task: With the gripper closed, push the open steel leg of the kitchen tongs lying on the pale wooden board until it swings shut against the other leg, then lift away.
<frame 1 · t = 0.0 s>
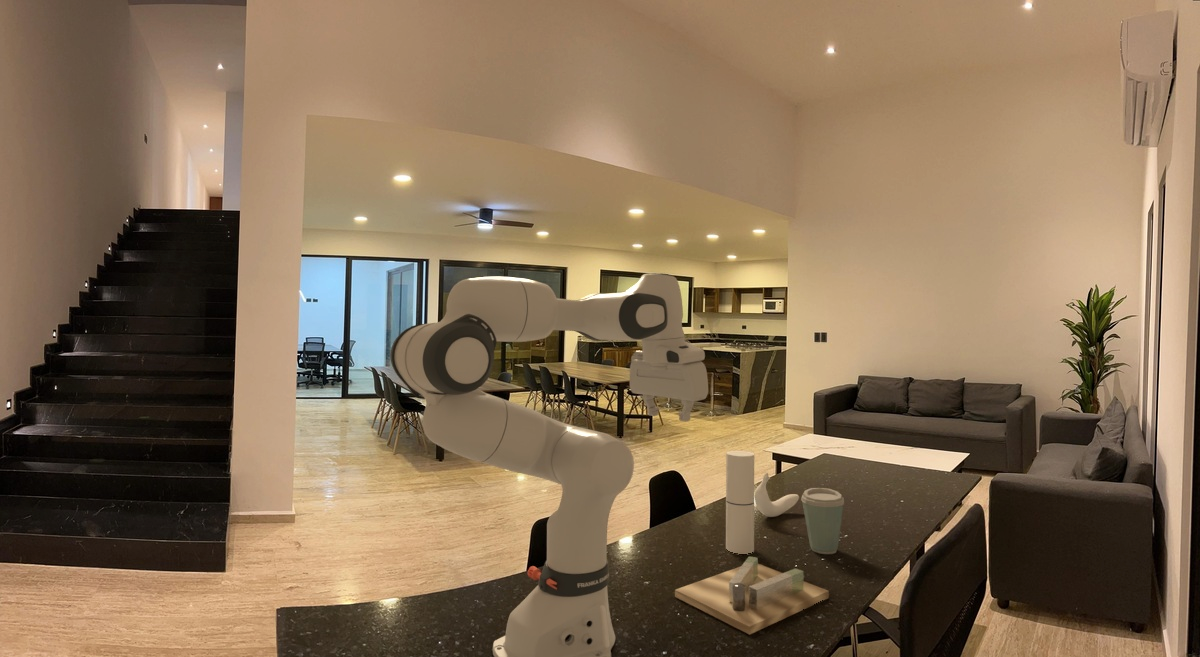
hand: (668, 418, 126), 39 cm above the table, tool pointing down, fingers open, 8 cm apart
cylindrical container: (739, 550, 158), on the table
banana: (775, 516, 186), on the table
cutting board: (751, 597, 130), on the table
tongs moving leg: (746, 580, 129), point 4 cm above the table, hinge at 25.0°
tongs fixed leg: (738, 608, 121), resting on cutting board
disposable coffee cup: (822, 550, 157), on the table
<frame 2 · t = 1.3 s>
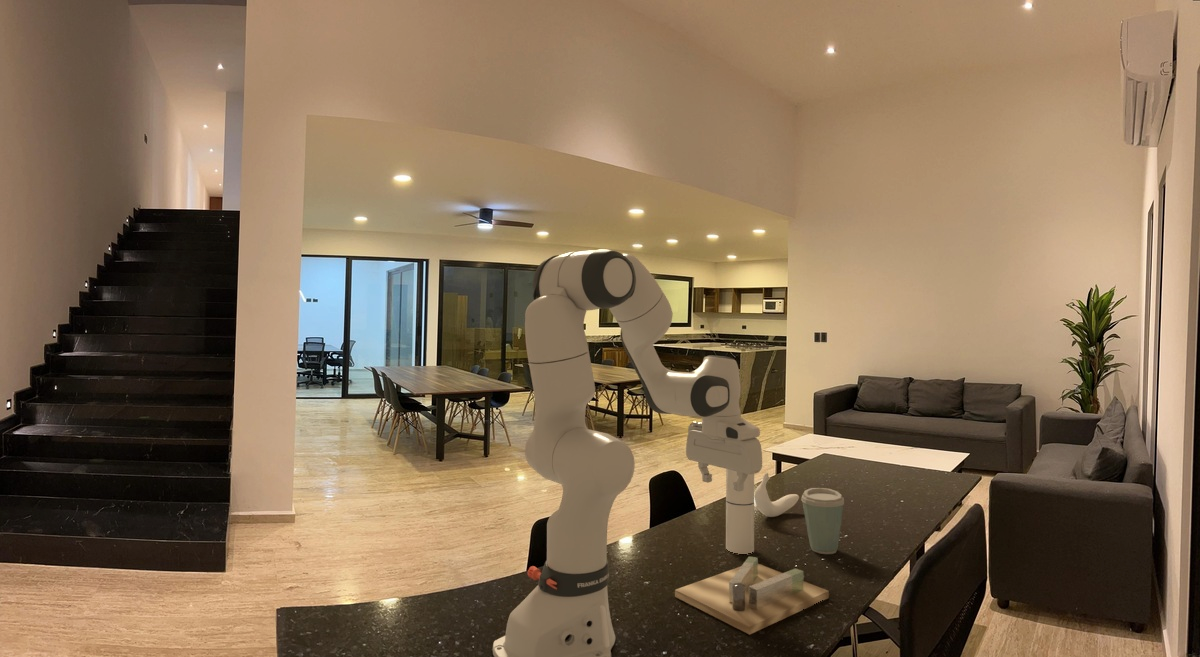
hand: (722, 486, 139), 21 cm above the table, tool pointing down, fingers open, 8 cm apart
nothing on the table moved.
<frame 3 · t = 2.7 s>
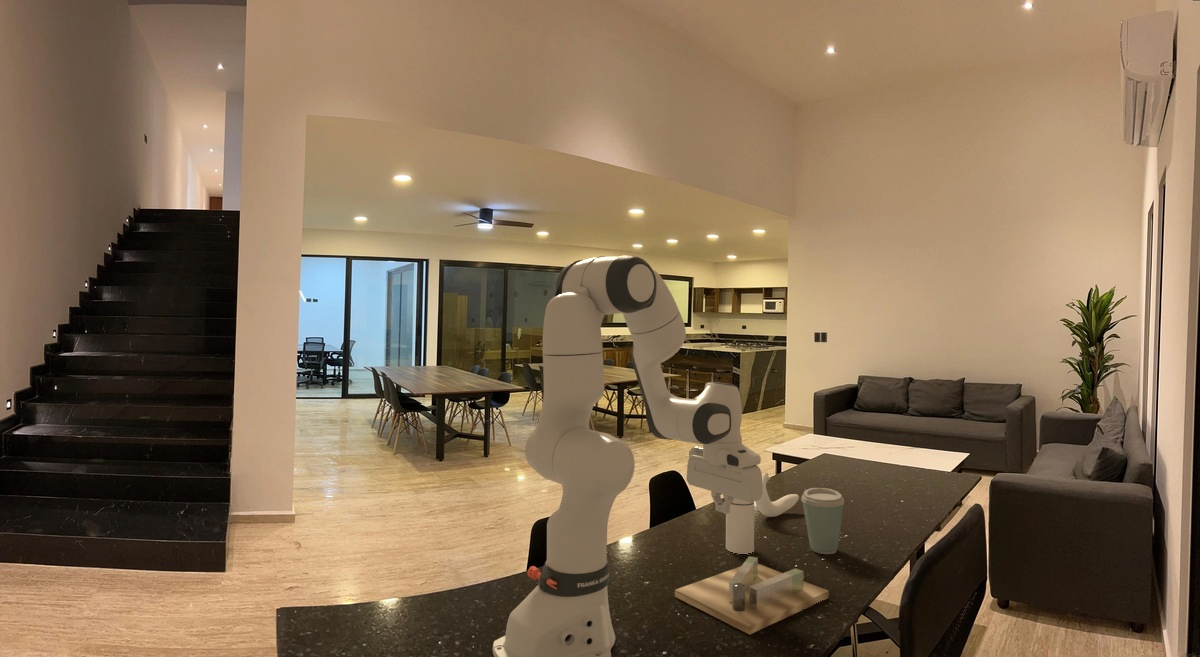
hand: (722, 512, 140), 15 cm above the table, tool pointing down, fingers closed
nothing on the table moved.
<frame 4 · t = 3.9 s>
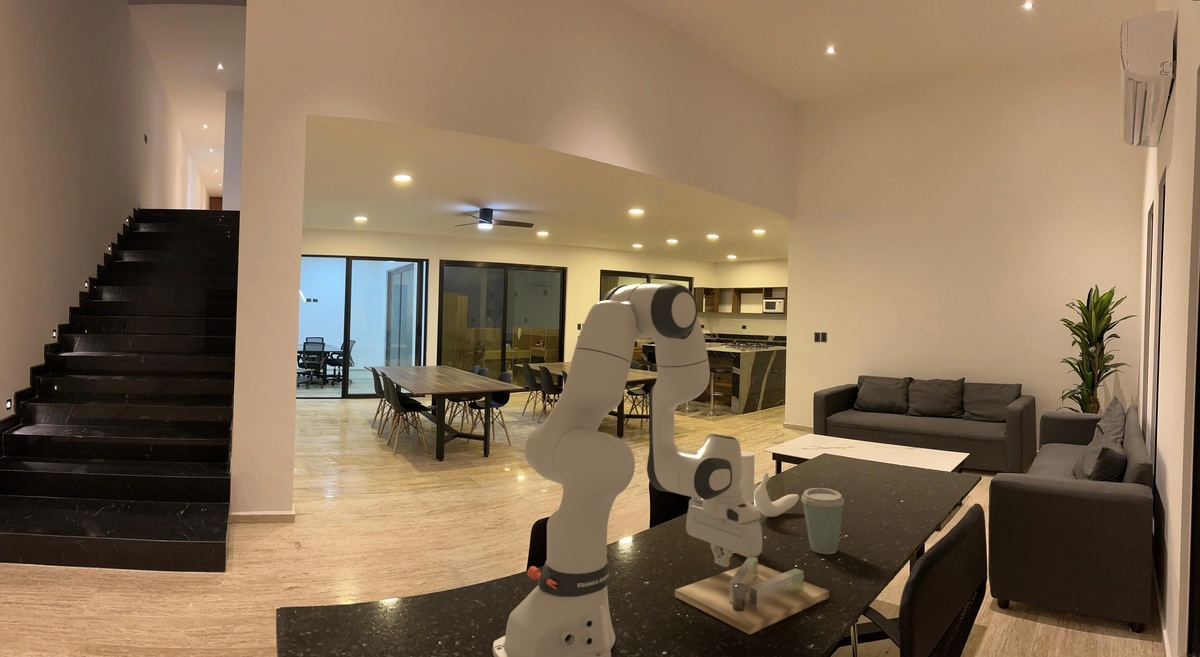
hand: (721, 564, 139), 3 cm above the table, tool pointing down, fingers closed
nothing on the table moved.
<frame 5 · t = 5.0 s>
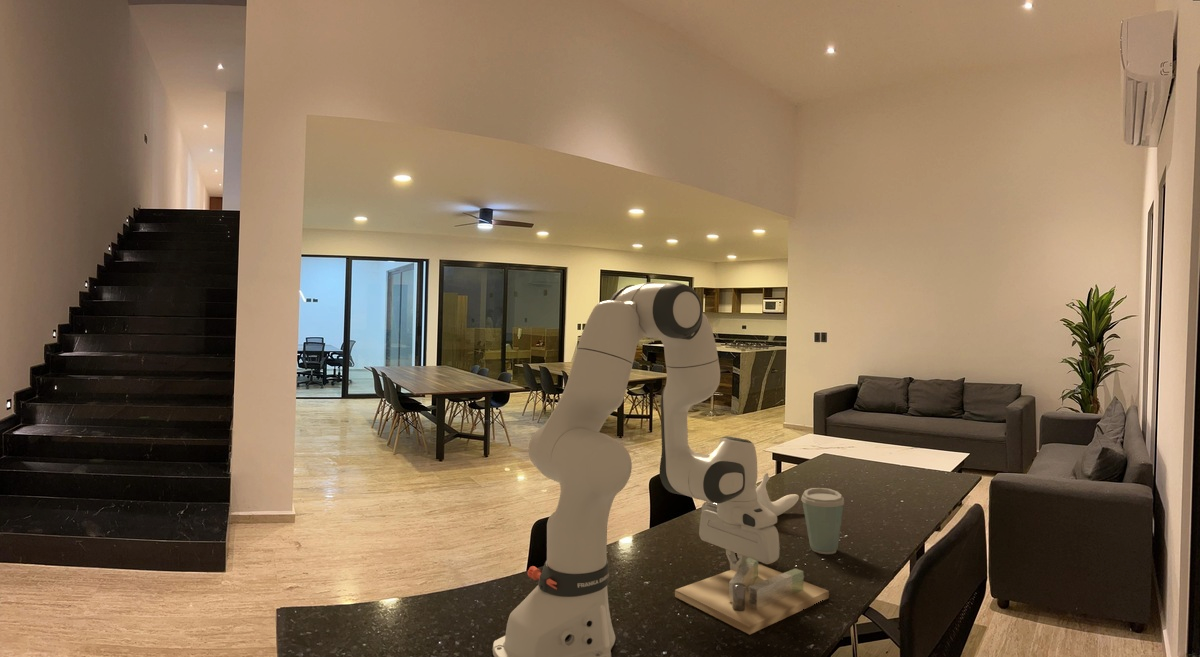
hand: (736, 570, 136), 3 cm above the table, tool pointing down, fingers closed
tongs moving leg: (746, 580, 129), point 4 cm above the table, hinge at 24.6°, touching gripper
everything else where it was.
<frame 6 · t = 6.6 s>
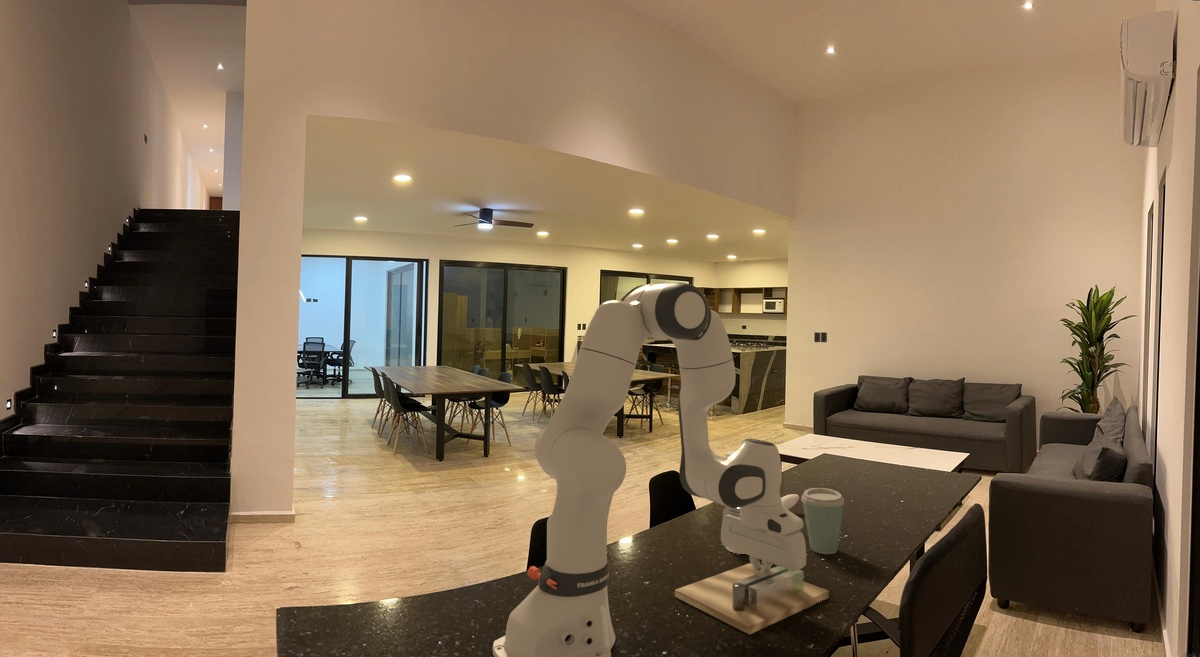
hand: (761, 577, 131), 3 cm above the table, tool pointing down, fingers closed
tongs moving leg: (762, 585, 126), point 4 cm above the table, hinge at -0.3°, touching gripper
everything else where it was.
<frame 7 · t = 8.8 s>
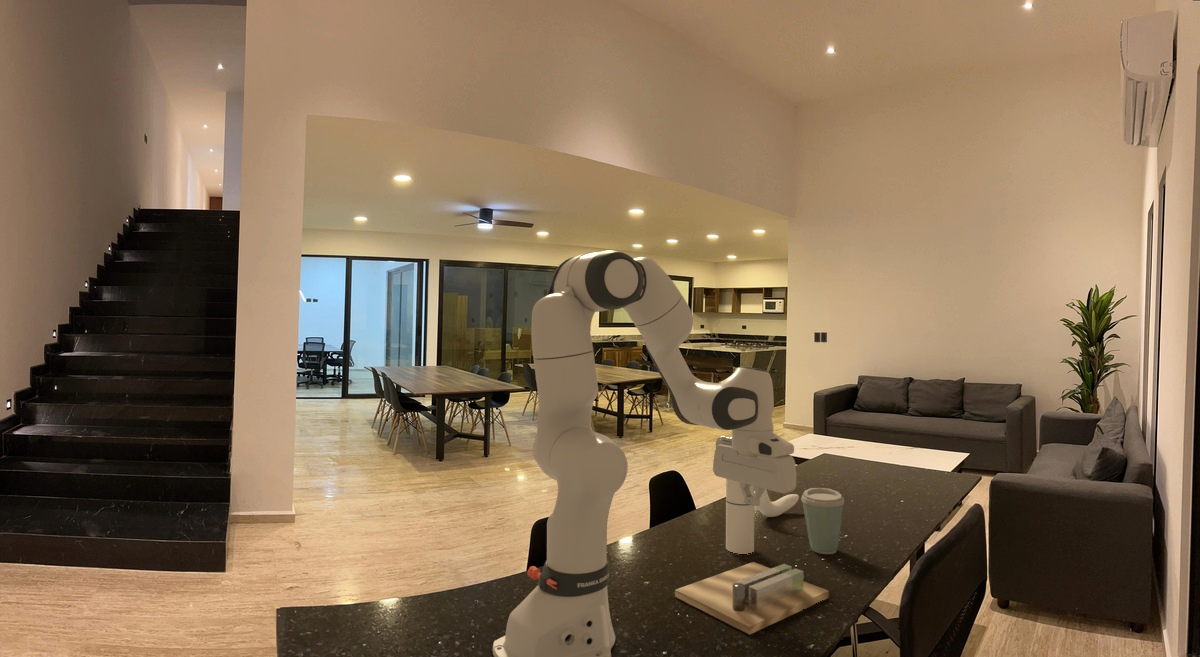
hand: (752, 504, 132), 19 cm above the table, tool pointing down, fingers closed
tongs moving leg: (762, 585, 126), point 4 cm above the table, hinge at -0.3°
everything else where it was.
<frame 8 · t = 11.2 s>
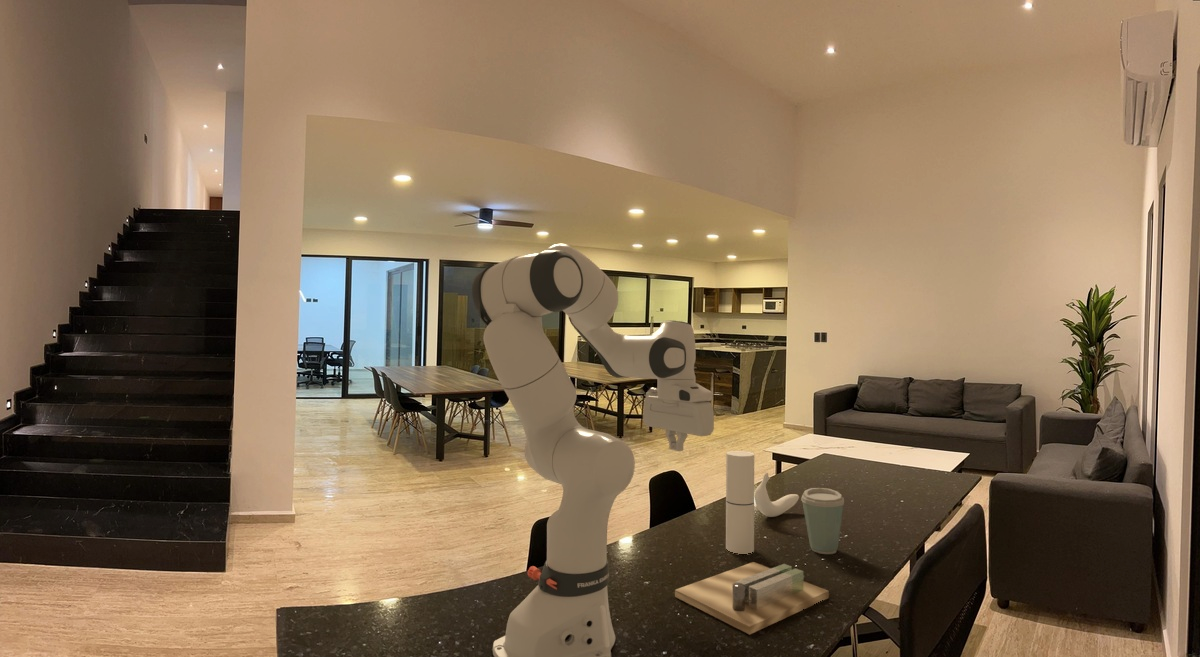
hand: (676, 450, 141), 29 cm above the table, tool pointing down, fingers closed
nothing on the table moved.
at the end: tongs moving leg at +0° (first picture: +25°) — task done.
